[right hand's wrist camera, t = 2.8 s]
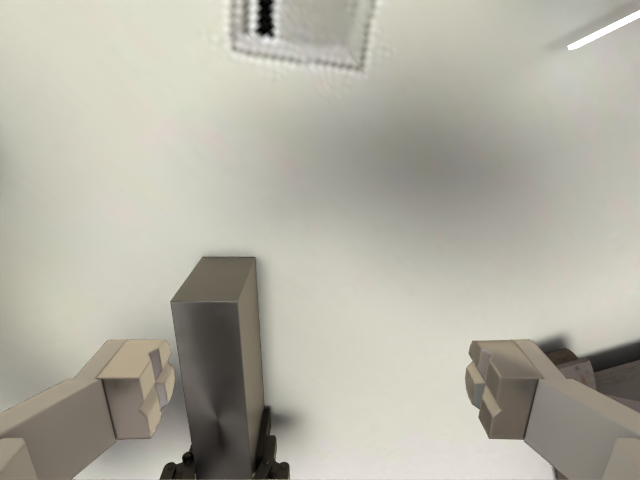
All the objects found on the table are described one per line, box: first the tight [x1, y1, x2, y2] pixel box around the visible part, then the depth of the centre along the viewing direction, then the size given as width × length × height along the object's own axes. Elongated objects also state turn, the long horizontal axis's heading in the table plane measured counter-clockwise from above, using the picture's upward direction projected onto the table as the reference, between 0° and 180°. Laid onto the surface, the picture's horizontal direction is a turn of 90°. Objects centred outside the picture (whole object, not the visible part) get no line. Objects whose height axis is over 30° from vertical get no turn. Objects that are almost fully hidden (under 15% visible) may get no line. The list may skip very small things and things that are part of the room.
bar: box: [170, 257, 264, 480], centre depth 41 cm, size 25×6×9 cm, turn 0°
